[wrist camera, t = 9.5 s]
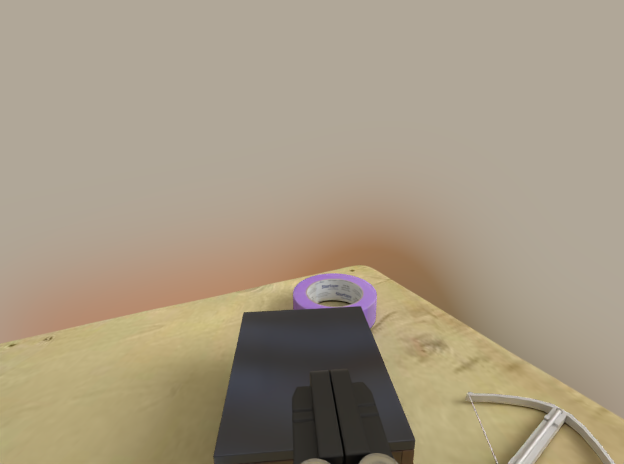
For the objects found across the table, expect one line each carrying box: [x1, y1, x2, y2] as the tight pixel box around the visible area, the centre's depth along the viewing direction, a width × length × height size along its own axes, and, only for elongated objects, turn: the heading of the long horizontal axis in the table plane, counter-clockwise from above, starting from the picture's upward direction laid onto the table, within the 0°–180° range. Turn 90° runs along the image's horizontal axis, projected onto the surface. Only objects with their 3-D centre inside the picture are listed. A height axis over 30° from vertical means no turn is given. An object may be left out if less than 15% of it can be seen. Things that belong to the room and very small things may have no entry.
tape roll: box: [293, 274, 377, 328], centre depth 49 cm, size 12×12×4 cm
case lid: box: [213, 306, 415, 464], centre depth 29 cm, size 16×13×1 cm
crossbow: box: [465, 392, 615, 464], centre depth 28 cm, size 16×13×2 cm
